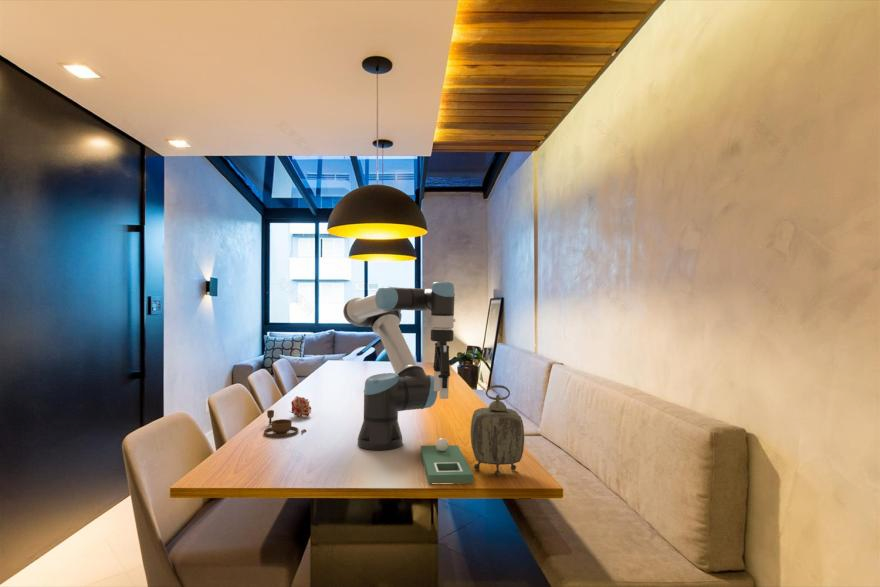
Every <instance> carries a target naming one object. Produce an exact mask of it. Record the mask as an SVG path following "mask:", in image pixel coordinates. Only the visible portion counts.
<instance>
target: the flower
mask: <svg viewBox="0 0 880 587" xmlns="http://www.w3.org/2000/svg"><path fill="white" fill-rule="evenodd" d="M290 403H291V411H288V412H289V413H291V414H292V415H293V416H295V417H297V418H298V419H299V418H300V417H303V416H305V417H308V416H309V415H310V414H312V406H310V405H311V404H310V400H309V399H308V398H307V399H306V398H305V397H301V396H298V395H297V396H294V399H293V400H291V402H290Z"/></svg>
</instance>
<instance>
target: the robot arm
mask: <svg viewBox="0 0 880 587" xmlns="http://www.w3.org/2000/svg"><path fill="white" fill-rule="evenodd" d="M455 296H456V295H455V284H454V283H453V282H450V281H448V282H447V281H435V282H432V284H431V288H415V287H396V286H395V287H394V286H393V287H392V286H381V287H379V288H378V289H377V291H376V293H374V294H370V295H367V296H364V297H363V298H362V297H354V298H352V299H349V300H348V301H347V302H346V303H345V304H344V306H343V311H342V312H343V316H344V318H345V320H346V321H347V322H348V323H349V324H351V325H353V326H355V327H362V328H363V327H366V328H369V327H370V328H371V329H372V331H373V333H374V334H375V335H377V336H379V338H380V341H381V342H382V345H383V348H384V350H385V352H386V355H387V358H388V359H389V362H390V364H391V366H392V369H393V371H394V372H389V373H388V372H385V373H377V374H374V375H371V376H369V377H367V378H366V379H365V382H364V389H363V422H362V424H361V427H360V430H359V433H358V436H357V446H358V447H360V448H361V449H365V450H370V451H388V450H389V451H390V450H394V449H398V448H399V447H401V446H402V445H403V435H402V431H401V428H400V424H399V421H398V420H399V419H398V418H399V412H404V411H411V410H413V411H414V410H424V409H428V408H432V406H434V405H435V404H436V401H437V398H439V399H441V400H442V399H443V400H446V399H449V383H450V382H449V381H450V376H451V369H450V345H448V344H447V343H448V342H454V330H453V328H454V323H455V322H456V319H455V318H454V317H455V316H454V315H455ZM402 311H421V312H422V311H423V312H427V311H430V314H431V315H430V328H431V330H430V341H432V342H434V358H433V366H432V367H433V371H434V372H433V375H431V374H427V373H426V372H425V370H424V368H423V367H422V366H421V365H417V363H416V360H415V358H414V356H413V354H412V352H411V350H410V348H409V345H408V344H407V342H406V339H405V337H404V335H403V333H402V330H401V329H400V327H399V326H400V324H401V321H402V317H403V316H402ZM438 393H439V397H438Z"/></svg>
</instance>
